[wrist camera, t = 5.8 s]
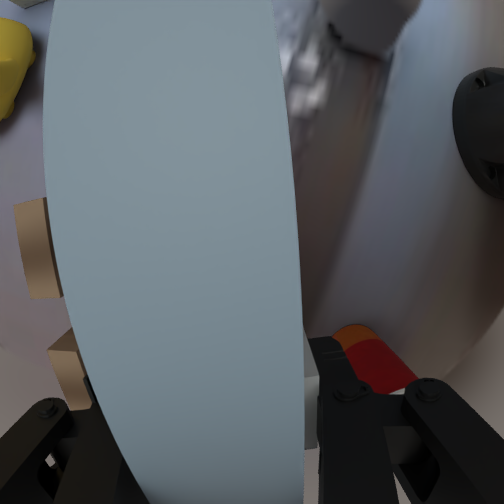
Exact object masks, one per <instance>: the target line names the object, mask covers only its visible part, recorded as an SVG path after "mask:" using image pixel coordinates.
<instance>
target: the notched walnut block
mask: <svg viewBox="0 0 504 504" xmlns="http://www.w3.org/2000/svg"><path fill="white" fill-rule="evenodd" d="M14 213H15V221H16V228H17V234H18V241H19V246H20V252H21V257H22V262H23V267H24V272H25V276H26V281H27V285H28V289H29V293H30V297H31V299H42V298H61V297H62V296H64V294H63V290H62V285H61V281H60V276H59V272H58V267H57V262H56V256H55V251H54V245H53V239H52V233H51V226H50V219H49V212H48V203H47V197H45V198H40V199H36V200H32V201H28V202H24V203H20V204H16V205H14ZM47 352H48V355H49V358H50V361H51V363H52V366H53V369H54V371H55V374H56V376H57V379H58V381H59V384H60V386H61V388H62V391H63V393H64V396H65V398H66V400H67V402H68V404H69V407H70V409H71V411H72V410H83V409H90V407H91V405H92V402H91V399H90V397H89V394H88V392H87V389H86V387H85V384H84V382H83V378H84V377H85V375H86V374H87V371H86V368H85V365H84V362H83V359H82V357H81V353H80V350H79V347H78V344H77V341H76V338H75V334H74V331H73V328H71V329H69V330H68V331H67V332H66V333H65V334H64V335H63V336H62V337H60V338H59V339H58V340H57V341H56V342H55V343H54V344H53V345H52V346H50V347H49V348H48V349H47Z"/></svg>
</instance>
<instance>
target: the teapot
mask: <svg viewBox="0 0 504 504" xmlns="http://www.w3.org/2000/svg"><path fill="white" fill-rule="evenodd" d="M32 49H33V41H32V35H31V32H30V30H29V28H28V27H27V26H26V25H24V24H22V23H19V22H16V21H13V20H10V19H6V18H0V121H1V120H2V119H3V118H4V119H6V118H8V117H9V116H10V115H11V114H12V112H13V109H14V99H15V97H16V95H17V93H18V91H19V89H20V87H21V84H22V82H23V79H24V77H25V74H26V71H27V69H28V68H29V67H30V66H31V65H32V64H33V62H34V60H35V57H36V53H35V51H32Z"/></svg>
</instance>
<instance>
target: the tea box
mask: <svg viewBox="0 0 504 504" xmlns="http://www.w3.org/2000/svg"><path fill="white" fill-rule="evenodd" d="M10 1H11V2H13V3H15V4H17V5H19V6H20V7H22V8H27V7H30V6H32V5H35V4H38V3H40V2H43V1H46V0H10Z"/></svg>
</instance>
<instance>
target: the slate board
mask: <svg viewBox="0 0 504 504" xmlns="http://www.w3.org/2000/svg"><path fill="white" fill-rule="evenodd" d="M43 152H44V170H45V183H46V194H47V203H48V212H49V219H50V226H51V233H52V239H53V245H54V251H55V256H56V262H57V267H58V272H59V276H60V281H61V285H62V290H63V294H64V298H65V302H66V306H67V310H68V313H69V317H70V321H71V324H72V328H73V331H74V334H75V338H76V341H77V344H78V347H79V350H80V353H81V357H82V359H83V362H84V365H85V368H86V371H87V374H88V376H89V379H90V382H91V385H92V387H93V390H94V392H95V395H96V397H97V400H98V402H99V405H100V407H101V409H102V412H103V414H104V416H105V419H106V421H107V423H108V425H109V428H110V430H111V432H112V434H113V436H114V438H115V441H116V443H117V445H118V447H119V449H120V451H121V453H122V455H123V457H124V459H125V460H126V462H127V464H128V466H129V468H130V470H131V472H132V474H133V475H134V477H135V479H136V481H137V482H138V484H139V486H140V488H141V489H142V491H143V493H144V494H145V496H146V498H147V499H148V501H149V503H150V504H303V494H304V491H303V490H304V439H305V410H304V352H303V322H302V299H301V279H300V261H299V245H298V230H297V216H296V203H295V191H294V180H293V168H292V158H291V147H290V138H289V128H288V119H287V110H286V101H285V93H284V85H283V77H282V69H281V61H280V54H279V47H278V40H277V33H276V26H275V19H274V13H273V6H272V0H55V3H54V8H53V13H52V19H51V25H50V32H49V39H48V46H47V55H46V65H45V78H44V95H43Z"/></svg>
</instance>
